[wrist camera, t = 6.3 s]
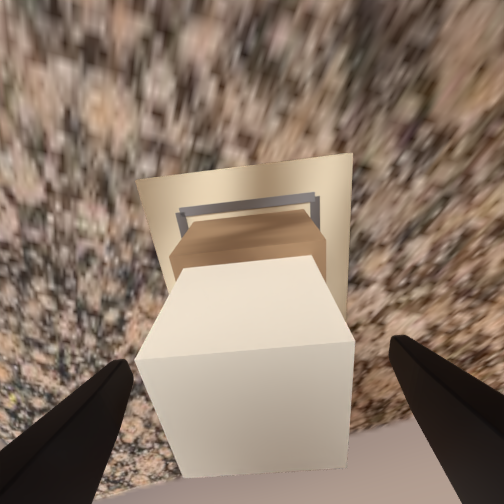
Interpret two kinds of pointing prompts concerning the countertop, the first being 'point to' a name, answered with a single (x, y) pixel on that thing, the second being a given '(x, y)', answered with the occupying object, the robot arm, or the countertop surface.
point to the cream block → (251, 369)
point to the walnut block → (250, 240)
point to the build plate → (256, 205)
